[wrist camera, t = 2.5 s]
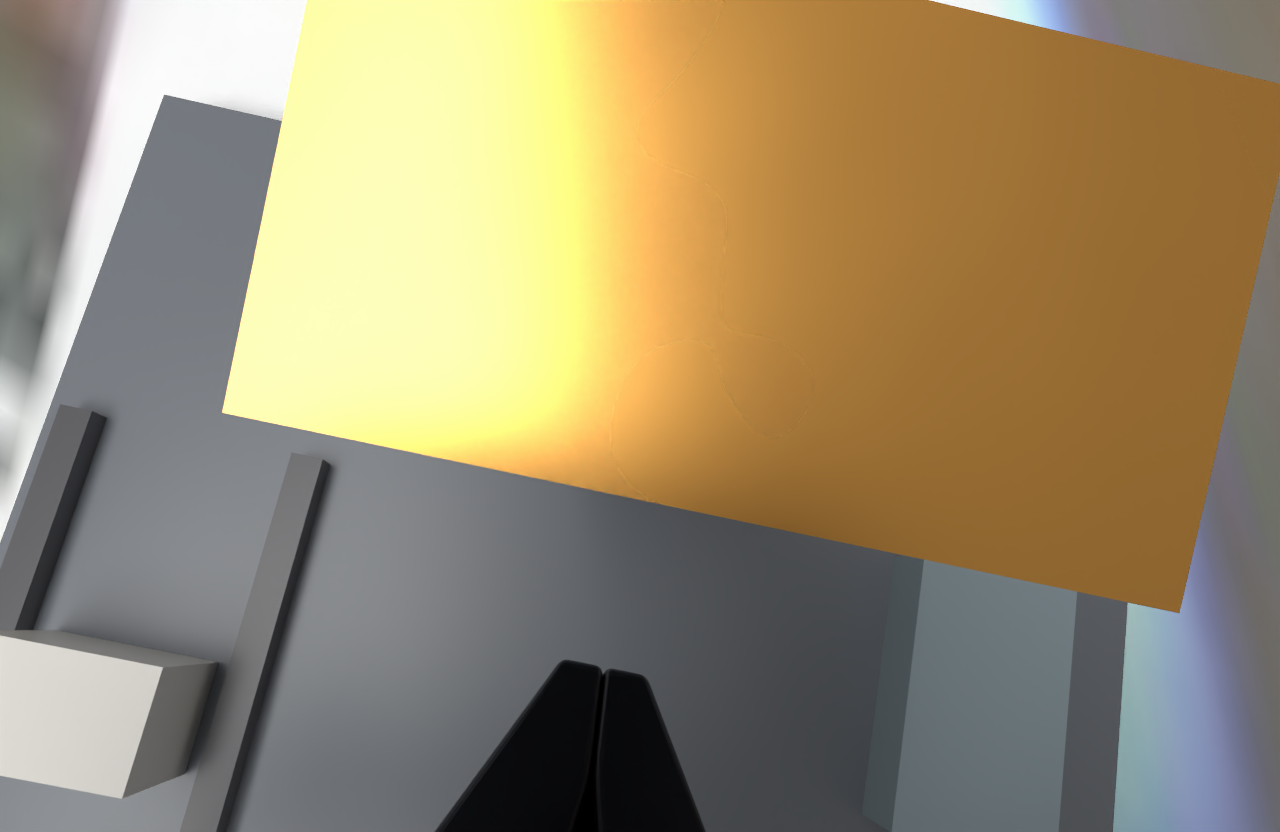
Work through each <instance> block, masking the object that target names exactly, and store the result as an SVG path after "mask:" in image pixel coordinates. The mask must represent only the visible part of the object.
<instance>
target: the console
mask: <svg viewBox="0 0 1280 832" xmlns="http://www.w3.org/2000/svg"><path fill="white" fill-rule="evenodd" d="M281 125H282V121H279V120H275V119H270V118H266V117H261V116H257V115H252V114H248V113H243V112H239V111H234V110H230V109H226V108H221V107H217V106H212V105H208V104H203V103H199V102H194V101H190V100H185V99H181V98H177V97H172V96H168V95H164V97H163V99H162V102H161V105H160V108H159V110H158V113H157V116H156V119H155V121H154V124H153V127H152V130H151V132H150V135H149V138H148V140H147V143H146V146H145V149H144V151H143V154H142V157H141V160H140V162H139V165H138V168H137V171H136V173H135V176H134V179H133V181H132V184H131V187H130V190H129V192H128V195H127V198H126V201H125V203H124V206H123V209H122V212H121V214H120V217H119V220H118V222H117V225H116V228H115V231H114V233H113V236H112V239H111V242H110V244H109V247H108V250H107V253H106V255H105V258H104V261H103V264H102V266H101V269H100V272H99V274H98V277H97V280H96V283H95V285H94V288H93V291H92V294H91V296H90V299H89V302H88V305H87V307H86V310H85V313H84V315H83V318H82V321H81V324H80V326H79V329H78V332H77V335H76V337H75V340H74V343H73V346H72V348H71V351H70V354H69V357H68V359H67V362H66V365H65V367H64V370H63V373H62V376H61V378H60V381H59V384H58V387H57V389H56V392H55V395H54V398H53V400H52V403H51V406H50V408H49V411H48V414H47V417H46V419H45V422H44V425H43V428H42V430H41V433H40V436H39V439H38V441H37V444H36V447H35V450H34V452H33V455H32V458H31V460H30V463H29V466H28V469H27V471H26V474H25V477H24V480H23V482H22V485H21V488H20V491H19V493H18V496H17V499H16V501H15V504H14V507H13V510H12V512H11V515H10V518H9V521H8V523H7V526H6V529H5V532H4V534H3V537H2V540H1V542H0V630H58V631H63V632H68V633H73V634H78V635H83V636H88V637H93V638H98V639H104V640H109V641H114V642H119V643H124V644H129V645H134V646H139V647H144V648H149V649H154V650H159V651H164V652H169V653H174V654H180V655H185V656H190V657H195V658H200V659H205V660H210V661H215V662H218V664H217V668H216V671H215V674H214V678H213V681H212V684H211V688H210V691H209V695H208V698H207V701H206V705H205V708H204V711H203V715H202V718H201V721H200V725H199V728H198V731H197V735H196V738H195V741H194V745H193V748H192V752H191V755H190V758H189V762H188V765H187V768H186V772H185V774H184V775H181V776H179V777H176V778H174V779H171V780H169V781H166V782H164V783H161V784H158V785H156V786H153V787H151V788H148V789H146V790H143V791H141V792H138V793H136V794H133V795H130V796H128V797H125V798H123V799H120V798H115V797H110V796H105V795H99V794H94V793H89V792H83V791H78V790H73V789H68V788H62V787H57V786H52V785H47V784H41V783H36V782H31V781H26V780H20V779H15V778H10V777H4V776H0V832H435V830H436V829H437V828H438V826H439V825H440V823H441V822H442V821H443V819H444V818H445V817H446V815H447V814H448V813H449V811H450V810H451V808H452V807H453V806H454V804H455V803H456V802H457V800H458V799H459V798H460V796H461V795H462V793H463V792H464V791H465V789H466V788H467V787H468V785H469V784H470V783H471V781H472V780H473V778H474V777H475V776H476V774H477V773H478V772H479V770H480V769H481V768H482V766H483V765H484V763H485V762H486V761H487V759H488V758H489V757H490V755H491V754H492V752H493V751H494V750H495V748H496V747H497V746H498V744H499V743H500V742H501V740H502V739H503V737H504V736H505V735H506V733H507V732H508V731H509V729H510V728H511V727H512V725H513V724H514V722H515V721H516V720H517V718H518V717H519V716H520V714H521V713H522V712H523V710H524V709H525V707H526V706H527V705H528V703H529V702H530V701H531V699H532V698H533V697H534V695H535V694H536V692H537V691H538V690H539V688H540V687H541V686H542V684H543V683H544V682H545V680H546V679H547V677H548V676H549V675H550V673H551V672H552V671H553V669H554V668H555V667H556V665H557V664H558V663H559V662H561V661H562V660H572V661H577V662H582V663H587V664H592V665H596V666H599V667H600V668H601V670H602V675H603V673H604V672H605V671H606V670H607V669H617V670H622V671H627V672H632V673H637V674H641V675H643V676H645V677H646V678H647V680H648V681H649V683H650V686H651V688H652V691H653V694H654V696H655V699H656V701H657V704H658V707H659V709H660V712H661V715H662V717H663V720H664V722H665V725H666V728H667V730H668V733H669V736H670V738H671V741H672V744H673V746H674V749H675V751H676V754H677V757H678V759H679V762H680V765H681V767H682V770H683V772H684V775H685V778H686V780H687V783H688V786H689V788H690V791H691V794H692V796H693V799H694V801H695V804H696V807H697V809H698V812H699V815H700V817H701V820H702V822H703V825H704V828H705V830H706V832H1113V819H1114V803H1115V788H1116V773H1117V757H1118V742H1119V726H1120V711H1121V695H1122V680H1123V664H1124V649H1125V634H1126V618H1127V603H1128V602H1124V601H1119V600H1115V599H1110V598H1105V597H1100V596H1095V595H1091V594H1086V593H1081V592H1076V591H1072V590H1067V589H1062V588H1057V587H1053V586H1048V585H1043V584H1038V583H1033V582H1029V581H1024V580H1019V579H1014V578H1010V577H1005V576H1000V575H995V574H991V573H986V572H981V571H976V570H971V569H967V568H962V567H957V566H952V565H948V564H943V563H938V562H933V561H929V560H924V559H919V558H914V557H909V556H905V555H900V554H895V553H890V552H886V551H881V550H876V549H871V548H867V547H862V546H857V545H852V544H847V543H843V542H838V541H833V540H828V539H824V538H819V537H814V536H809V535H804V534H800V533H795V532H790V531H785V530H781V529H776V528H771V527H766V526H762V525H757V524H752V523H747V522H742V521H738V520H733V519H728V518H723V517H719V516H714V515H709V514H704V513H700V512H695V511H690V510H685V509H680V508H676V507H671V506H666V505H661V504H657V503H652V502H647V501H642V500H638V499H633V498H628V497H623V496H618V495H614V494H609V493H604V492H599V491H595V490H590V489H585V488H580V487H576V486H571V485H566V484H561V483H556V482H552V481H547V480H542V479H537V478H533V477H528V476H523V475H518V474H514V473H509V472H504V471H499V470H494V469H490V468H485V467H480V466H475V465H471V464H466V463H461V462H456V461H452V460H447V459H442V458H437V457H432V456H428V455H423V454H418V453H413V452H409V451H404V450H399V449H394V448H390V447H385V446H380V445H375V444H370V443H366V442H361V441H356V440H351V439H347V438H342V437H337V436H332V435H328V434H323V433H318V432H313V431H308V430H304V429H299V428H294V427H289V426H285V425H280V424H275V423H270V422H266V421H261V420H256V419H251V418H246V417H242V416H237V415H232V414H227V413H223V407H224V402H225V398H226V393H227V388H228V383H229V378H230V373H231V368H232V364H233V359H234V354H235V349H236V344H237V339H238V334H239V330H240V325H241V320H242V315H243V310H244V305H245V300H246V296H247V291H248V286H249V281H250V276H251V271H252V266H253V262H254V257H255V252H256V247H257V242H258V237H259V232H260V228H261V223H262V218H263V213H264V208H265V203H266V198H267V194H268V189H269V184H270V179H271V174H272V169H273V164H274V159H275V155H276V150H277V145H278V140H279V135H280V130H281Z"/></svg>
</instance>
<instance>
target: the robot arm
mask: <svg viewBox="0 0 1280 832" xmlns="http://www.w3.org/2000/svg"><path fill="white" fill-rule="evenodd" d="M435 832H706V830H705V828H704V825H703V822H702V820H701V817H700V815H699V812H698V809H697V807H696V804H695V801H694V799H693V796H692V794H691V791H690V788H689V786H688V783H687V780H686V778H685V775H684V772H683V770H682V767H681V765H680V762H679V759H678V757H677V754H676V751H675V749H674V746H673V744H672V741H671V738H670V736H669V733H668V730H667V728H666V725H665V722H664V720H663V717H662V715H661V712H660V709H659V707H658V704H657V701H656V699H655V696H654V694H653V691H652V688H651V686H650V683H649V681H648V680H647V678H646V677H645V676H643V675H641V674H637V673H632V672H627V671H622V670H617V669H607V670H606V671H605V672H604V673H603V675H602V670H601V668H600V667H599V666H596V665H592V664H587V663H582V662H577V661H572V660H562V661H561V662H559V663H558V664H557V665H556V667H555V668H554V669H553V671H552V672H551V673H550V675H549V676H548V677H547V679H546V680H545V682H544V683H543V684H542V686H541V687H540V688H539V690H538V691H537V692H536V694H535V695H534V697H533V698H532V699H531V701H530V702H529V703H528V705H527V706H526V707H525V709H524V710H523V712H522V713H521V714H520V716H519V717H518V718H517V720H516V721H515V722H514V724H513V725H512V727H511V728H510V729H509V731H508V732H507V733H506V735H505V736H504V737H503V739H502V740H501V742H500V743H499V744H498V746H497V747H496V748H495V750H494V751H493V752H492V754H491V755H490V757H489V758H488V759H487V761H486V762H485V763H484V765H483V766H482V768H481V769H480V770H479V772H478V773H477V774H476V776H475V777H474V778H473V780H472V781H471V783H470V784H469V785H468V787H467V788H466V789H465V791H464V792H463V793H462V795H461V796H460V798H459V799H458V800H457V802H456V803H455V804H454V806H453V807H452V808H451V810H450V811H449V813H448V814H447V815H446V817H445V818H444V819H443V821H442V822H441V823H440V825H439V826H438V828H437V829H436V830H435Z"/></svg>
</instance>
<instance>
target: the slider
mask: <svg viewBox="0 0 1280 832" xmlns="http://www.w3.org/2000/svg"><path fill="white" fill-rule="evenodd" d="M217 664H218V662H215V661H210V660H205V659H200V658H195V657H190V656H185V655H180V654H174V653H169V652H164V651H159V650H154V649H149V648H144V647H139V646H134V645H129V644H124V643H119V642H114V641H109V640H104V639H98V638H93V637H88V636H83V635H78V634H73V633H68V632H63V631H58V630H0V776H4V777H10V778H15V779H20V780H26V781H31V782H36V783H41V784H47V785H52V786H57V787H62V788H68V789H73V790H78V791H83V792H89V793H94V794H99V795H105V796H110V797H115V798H120V799H123V798H125V797H128V796H130V795H133V794H136V793H138V792H141V791H143V790H146V789H148V788H151V787H153V786H156V785H158V784H161V783H164V782H166V781H169V780H171V779H174V778H176V777H179V776H181V775H184V774H185V772H186V768H187V765H188V762H189V758H190V755H191V752H192V748H193V745H194V741H195V738H196V735H197V731H198V728H199V725H200V721H201V718H202V715H203V711H204V708H205V705H206V701H207V698H208V695H209V691H210V688H211V684H212V681H213V678H214V674H215V671H216V668H217Z"/></svg>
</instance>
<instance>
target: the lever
mask: <svg viewBox="0 0 1280 832" xmlns="http://www.w3.org/2000/svg"><path fill="white" fill-rule="evenodd" d="M1279 172H1280V84H1278V83H1274V82H1270V81H1266V80H1261V79H1257V78H1253V77H1249V76H1245V75H1240V74H1236V73H1232V72H1228V71H1224V70H1219V69H1215V68H1211V67H1207V66H1203V65H1198V64H1194V63H1190V62H1186V61H1181V60H1177V59H1173V58H1169V57H1165V56H1160V55H1156V54H1152V53H1148V52H1144V51H1139V50H1135V49H1131V48H1127V47H1123V46H1118V45H1114V44H1110V43H1106V42H1102V41H1097V40H1093V39H1089V38H1085V37H1081V36H1076V35H1072V34H1068V33H1064V32H1060V31H1055V30H1051V29H1047V28H1043V27H1039V26H1034V25H1030V24H1026V23H1022V22H1018V21H1013V20H1009V19H1005V18H1001V17H997V16H992V15H988V14H984V13H980V12H976V11H971V10H967V9H963V8H959V7H955V6H950V5H946V4H942V3H938V2H934V1H929V0H307V4H306V9H305V14H304V19H303V23H302V28H301V33H300V38H299V43H298V48H297V53H296V57H295V62H294V67H293V72H292V77H291V82H290V87H289V91H288V96H287V101H286V106H285V111H284V116H283V121H282V125H281V130H280V135H279V140H278V145H277V150H276V155H275V159H274V164H273V169H272V174H271V179H270V184H269V189H268V194H267V198H266V203H265V208H264V213H263V218H262V223H261V228H260V232H259V237H258V242H257V247H256V252H255V257H254V262H253V266H252V271H251V276H250V281H249V286H248V291H247V296H246V300H245V305H244V310H243V315H242V320H241V325H240V330H239V334H238V339H237V344H236V349H235V354H234V359H233V364H232V368H231V373H230V378H229V383H228V388H227V393H226V398H225V402H224V407H223V413H227V414H232V415H237V416H242V417H246V418H251V419H256V420H261V421H266V422H270V423H275V424H280V425H285V426H289V427H294V428H299V429H304V430H308V431H313V432H318V433H323V434H328V435H332V436H337V437H342V438H347V439H351V440H356V441H361V442H366V443H370V444H375V445H380V446H385V447H390V448H394V449H399V450H404V451H409V452H413V453H418V454H423V455H428V456H432V457H437V458H442V459H447V460H452V461H456V462H461V463H466V464H471V465H475V466H480V467H485V468H490V469H494V470H499V471H504V472H509V473H514V474H518V475H523V476H528V477H533V478H537V479H542V480H547V481H552V482H556V483H561V484H566V485H571V486H576V487H580V488H585V489H590V490H595V491H599V492H604V493H609V494H614V495H618V496H623V497H628V498H633V499H638V500H642V501H647V502H652V503H657V504H661V505H666V506H671V507H676V508H680V509H685V510H690V511H695V512H700V513H704V514H709V515H714V516H719V517H723V518H728V519H733V520H738V521H742V522H747V523H752V524H757V525H762V526H766V527H771V528H776V529H781V530H785V531H790V532H795V533H800V534H804V535H809V536H814V537H819V538H824V539H828V540H833V541H838V542H843V543H847V544H852V545H857V546H862V547H867V548H871V549H876V550H881V551H886V552H890V553H895V554H900V555H905V556H909V557H914V558H919V559H924V560H929V561H933V562H938V563H943V564H948V565H952V566H957V567H962V568H967V569H971V570H976V571H981V572H986V573H991V574H995V575H1000V576H1005V577H1010V578H1014V579H1019V580H1024V581H1029V582H1033V583H1038V584H1043V585H1048V586H1053V587H1057V588H1062V589H1067V590H1072V591H1076V592H1081V593H1086V594H1091V595H1095V596H1100V597H1105V598H1110V599H1115V600H1119V601H1124V602H1129V603H1134V604H1138V605H1143V606H1148V607H1153V608H1157V609H1162V610H1167V611H1172V612H1177V613H1179V612H1180V608H1181V604H1182V599H1183V595H1184V590H1185V586H1186V582H1187V577H1188V573H1189V568H1190V564H1191V560H1192V555H1193V551H1194V546H1195V542H1196V538H1197V533H1198V529H1199V524H1200V520H1201V516H1202V511H1203V507H1204V502H1205V498H1206V494H1207V489H1208V485H1209V480H1210V476H1211V472H1212V467H1213V463H1214V458H1215V454H1216V450H1217V445H1218V441H1219V436H1220V432H1221V428H1222V423H1223V419H1224V414H1225V410H1226V406H1227V401H1228V397H1229V392H1230V388H1231V384H1232V379H1233V375H1234V370H1235V366H1236V362H1237V357H1238V353H1239V348H1240V344H1241V340H1242V335H1243V331H1244V326H1245V322H1246V318H1247V313H1248V309H1249V304H1250V300H1251V296H1252V291H1253V287H1254V282H1255V278H1256V274H1257V269H1258V265H1259V260H1260V256H1261V252H1262V247H1263V243H1264V238H1265V234H1266V230H1267V225H1268V221H1269V216H1270V212H1271V207H1272V203H1273V199H1274V194H1275V190H1276V185H1277V181H1278V177H1279Z"/></svg>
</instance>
